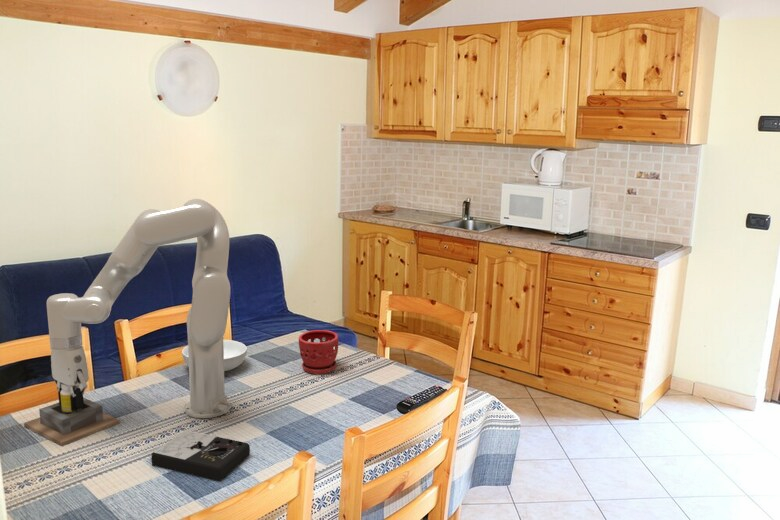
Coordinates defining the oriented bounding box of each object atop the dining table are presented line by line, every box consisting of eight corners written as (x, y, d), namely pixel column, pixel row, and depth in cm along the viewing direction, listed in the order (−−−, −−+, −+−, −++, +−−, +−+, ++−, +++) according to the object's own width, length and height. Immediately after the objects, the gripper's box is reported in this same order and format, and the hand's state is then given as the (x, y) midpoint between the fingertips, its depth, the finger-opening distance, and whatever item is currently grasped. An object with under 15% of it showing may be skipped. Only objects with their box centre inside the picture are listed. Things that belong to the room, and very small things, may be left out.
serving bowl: (238, 381, 203) (238, 360, 202) (173, 379, 203) (172, 358, 202) (253, 358, 223) (253, 339, 222) (194, 356, 224) (193, 337, 222)
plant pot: (304, 361, 222) (304, 328, 219) (341, 364, 220) (342, 330, 218) (294, 375, 209) (293, 340, 207) (333, 378, 207) (333, 343, 205)
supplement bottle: (73, 417, 167) (71, 387, 165) (58, 415, 168) (55, 385, 166) (85, 409, 172) (83, 380, 170) (70, 407, 172) (67, 378, 171)
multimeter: (219, 483, 145) (219, 463, 144) (150, 466, 151) (149, 447, 150) (250, 456, 157) (250, 438, 156) (185, 442, 164) (185, 424, 163)
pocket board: (119, 423, 172) (118, 405, 171) (61, 446, 159) (60, 427, 158) (81, 406, 182) (80, 389, 181) (24, 426, 169) (22, 408, 168)
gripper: (98, 343, 164) (103, 409, 168) (62, 331, 173) (67, 393, 177) (70, 351, 158) (76, 419, 162) (34, 338, 167) (40, 403, 171)
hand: (71, 405), depth 169 cm, fingers open, 5 cm apart
